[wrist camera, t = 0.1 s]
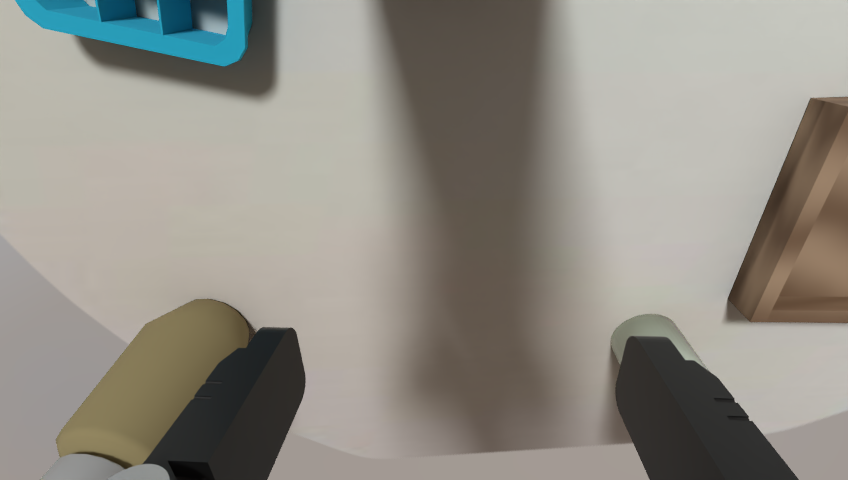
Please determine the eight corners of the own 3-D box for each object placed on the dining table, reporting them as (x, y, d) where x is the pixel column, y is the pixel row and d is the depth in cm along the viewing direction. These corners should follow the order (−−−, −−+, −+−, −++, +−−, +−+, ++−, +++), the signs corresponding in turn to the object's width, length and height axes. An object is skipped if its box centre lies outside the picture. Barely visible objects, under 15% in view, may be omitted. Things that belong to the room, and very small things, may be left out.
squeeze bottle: (276, 312, 32) (111, 588, 17) (248, 371, 36) (93, 642, 21) (178, 270, 31) (-103, 529, 15) (160, 335, 35) (-81, 599, 19)
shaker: (616, 312, 30) (704, 473, 20) (687, 313, 30) (816, 477, 19) (604, 362, 33) (675, 527, 22) (670, 363, 32) (775, 532, 22)
